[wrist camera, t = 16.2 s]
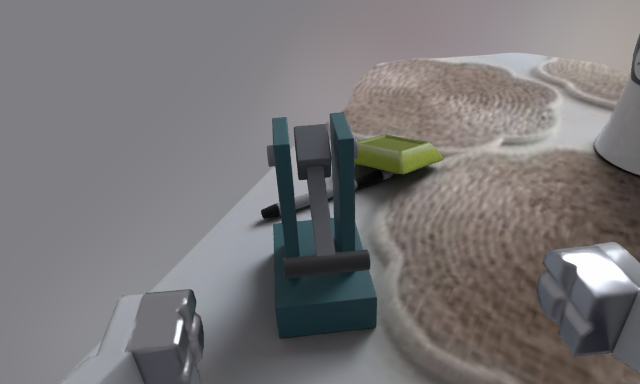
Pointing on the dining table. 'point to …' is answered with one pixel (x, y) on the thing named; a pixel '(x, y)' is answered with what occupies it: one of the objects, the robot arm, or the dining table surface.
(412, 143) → the saucer
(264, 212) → the pen
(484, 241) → the dining table surface
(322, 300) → the teal axle stand
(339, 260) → the lever
